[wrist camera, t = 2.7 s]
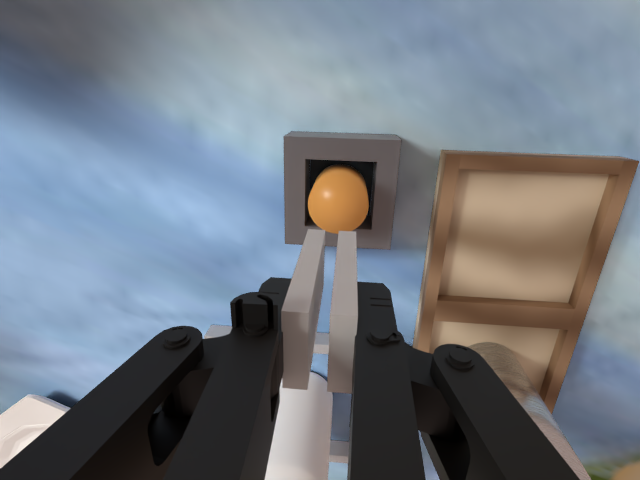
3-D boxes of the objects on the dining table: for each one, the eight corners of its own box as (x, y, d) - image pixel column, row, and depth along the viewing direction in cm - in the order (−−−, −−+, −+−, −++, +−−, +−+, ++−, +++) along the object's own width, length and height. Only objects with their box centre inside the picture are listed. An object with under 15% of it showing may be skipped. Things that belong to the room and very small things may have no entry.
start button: (314, 162, 27) (308, 173, 24) (368, 165, 27) (370, 176, 23) (313, 214, 29) (307, 232, 25) (364, 216, 29) (366, 235, 25)
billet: (455, 339, 33) (507, 464, 22) (524, 344, 33) (612, 474, 22) (445, 391, 35) (488, 528, 24) (510, 396, 35) (583, 537, 24)
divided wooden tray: (440, 149, 28) (447, 153, 26) (619, 156, 27) (639, 161, 25) (403, 407, 38) (406, 423, 36) (534, 418, 37) (544, 435, 35)
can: (343, 381, 37) (339, 503, 26) (318, 423, 40) (304, 551, 29) (285, 357, 37) (255, 471, 26) (262, 401, 39) (226, 523, 28)
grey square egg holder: (291, 131, 29) (283, 136, 25) (395, 134, 28) (401, 140, 25) (291, 228, 32) (284, 243, 28) (386, 233, 31) (390, 249, 28)
